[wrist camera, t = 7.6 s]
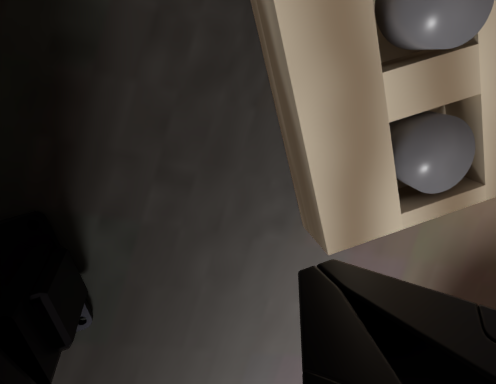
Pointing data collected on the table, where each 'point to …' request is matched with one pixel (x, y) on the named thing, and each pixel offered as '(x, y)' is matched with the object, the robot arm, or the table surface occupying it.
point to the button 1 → (431, 150)
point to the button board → (369, 115)
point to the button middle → (431, 22)
